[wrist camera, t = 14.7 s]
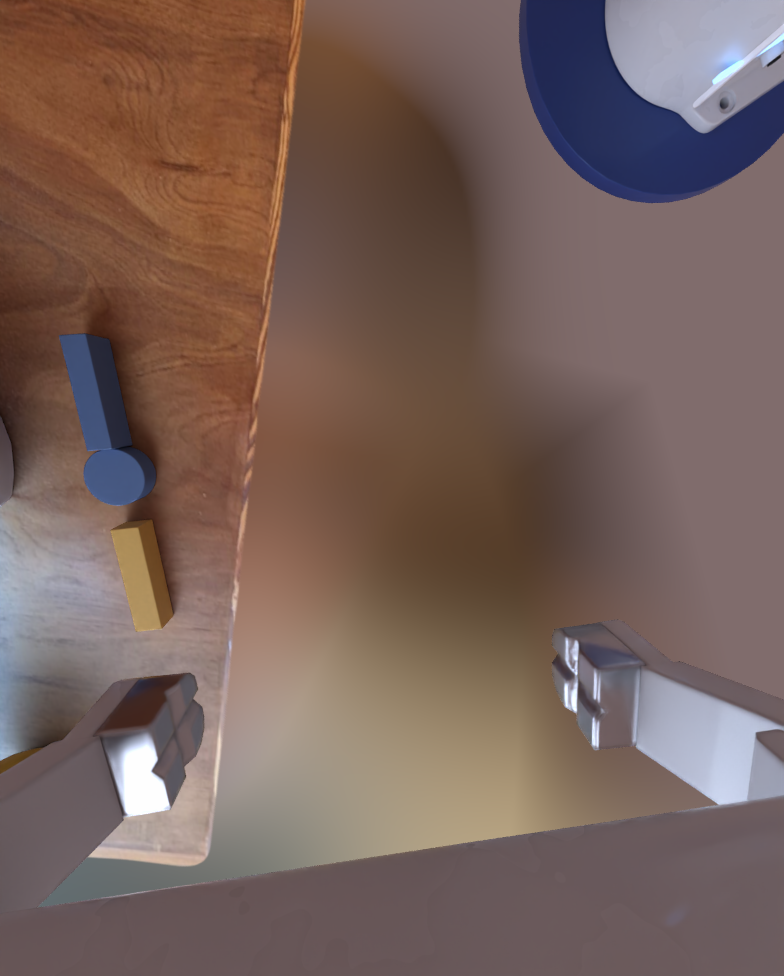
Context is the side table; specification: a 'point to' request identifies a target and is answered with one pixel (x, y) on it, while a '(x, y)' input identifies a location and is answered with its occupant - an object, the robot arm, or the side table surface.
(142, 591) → the fry
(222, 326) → the side table surface
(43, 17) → the side table surface
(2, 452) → the bowl
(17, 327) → the side table surface
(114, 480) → the blue rounded-end bar
